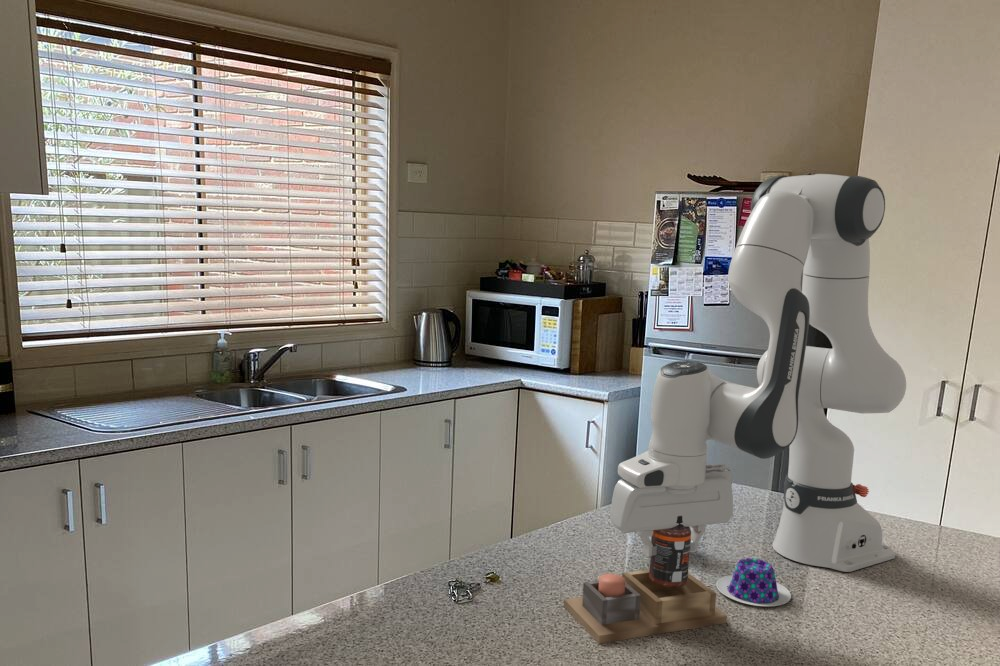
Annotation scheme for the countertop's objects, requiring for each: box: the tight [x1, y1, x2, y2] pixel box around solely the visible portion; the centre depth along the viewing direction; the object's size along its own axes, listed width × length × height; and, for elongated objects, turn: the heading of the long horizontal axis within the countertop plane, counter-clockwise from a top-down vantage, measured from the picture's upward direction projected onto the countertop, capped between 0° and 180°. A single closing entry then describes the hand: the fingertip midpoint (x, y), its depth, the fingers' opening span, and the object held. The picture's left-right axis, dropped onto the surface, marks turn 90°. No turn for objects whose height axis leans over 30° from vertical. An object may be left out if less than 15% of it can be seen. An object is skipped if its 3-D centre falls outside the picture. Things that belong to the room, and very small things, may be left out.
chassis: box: [563, 569, 728, 644], centre depth 129 cm, size 22×12×5 cm, turn 111°
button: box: [598, 573, 626, 598], centre depth 126 cm, size 4×4×3 cm
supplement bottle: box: [648, 516, 692, 588], centre depth 129 cm, size 6×6×11 cm
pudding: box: [716, 557, 792, 607], centre depth 138 cm, size 12×12×5 cm
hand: (670, 553), depth 129 cm, fingers closed on supplement bottle, 6 cm apart
